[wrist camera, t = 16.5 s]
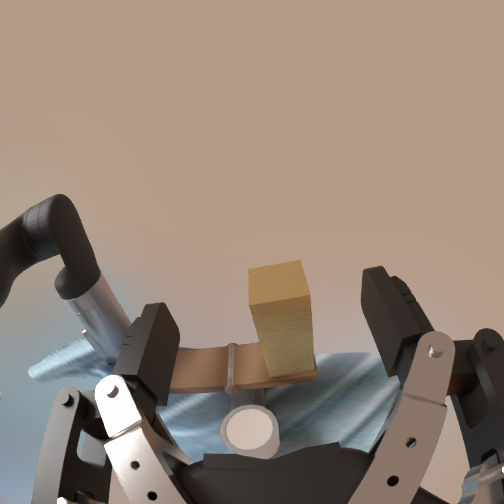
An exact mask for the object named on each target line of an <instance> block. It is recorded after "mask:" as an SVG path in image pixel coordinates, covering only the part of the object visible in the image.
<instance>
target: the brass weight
mask: <svg viewBox="0 0 504 504" xmlns="http://www.w3.org/2000/svg"><path fill="white" fill-rule="evenodd" d="M249 306H250V310H251V313H252V316H253V321H254V324H255V328H256V331H257V335H258V338H259V341H260V345H261V348H262V352H263V355H264V359H265V362H266V366H267V369H268V372H269V376H270V379H272V378H279V377H286V376H292V375H298V374H304V373H310V372H314V350H313V329H312V313H311V299H310V292H309V289H308V285H307V282H306V278H305V275H304V271H303V268H302V265H301V261H300V260H299V261H293V262H288V263H282V264H276V265H270V266H264V267H259V268H253V269H249Z"/></svg>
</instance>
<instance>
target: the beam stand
mask: <svg viewBox="0 0 504 504" xmlns="http://www.w3.org/2000/svg"><path fill="white" fill-rule="evenodd" d="M227 394H228V393H227ZM228 395H229V397H230V412H231V411H232V410H234V409H236V408H238V407H240V406H244V405H251V404H253V405H258V406H263V407H265V394H264V388H260V389H250V390H240V391H239V392H238V393H236V394H228Z"/></svg>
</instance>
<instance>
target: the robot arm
mask: <svg viewBox="0 0 504 504" xmlns="http://www.w3.org/2000/svg"><path fill="white" fill-rule="evenodd" d="M59 254H60V255H61V257H62V259H63V262H64V264H65V267H64V268H63V269H62V270H61V271H60V272H59V274H58V275H57V277H56V279H55V288H56V290H57V292H58V293H59V295H60V296H61V298H62V299H63V301H64V302H65V304H66V305H67V307H68V308H69V310H70V311H71V313H72V314H73V315H74V317H75V318H76V320H77V321H78V322H79V324H80V325H81V327H82V333H83V335H84V337H85V338H86V339H87V341H88V342H89V343H90V344H91V346H92V347H93V348H94V349H95V350H96V352H97V353H98V354H99V355H100V356H101V357H102V359H103V360H104V361H105V362H106V363H107V364H110V363H116V365H115V367H114V370H113V373H112V375H110V376H107V377H105V378H104V379H102V380H101V382H100V383H99V384H98V386H97V388H96V390H92V391H87V392H84V393H81V392H80V391H78V390H77V389H76V388H75V387H73V386H68V387H65V388H63V389H62V390H61V391H60V392H59V393H58V395H57V397H56V400H55V402H54V405H53V408H52V412H51V415H50V418H49V421H48V425H47V428H46V432H45V436H44V439H43V443H42V447H41V451H40V456H39V460H38V466H37V470H36V476H35V481H34V487H33V494H32V502H31V504H108V501H109V489H110V481H111V472H112V466H113V468H114V470H115V472H116V474H117V477H118V479H119V481H120V483H121V485H122V487H123V489H124V491H125V493H126V495H127V497H128V499H129V500H130V502H131V504H449V503H447V502H446V501H444V500H442V499H440V498H438V497H437V496H435V495H433V494H432V493H430V492H428V491H427V490H425V489H423V488H421V487H420V486H419V485H420V483H421V481H422V479H423V477H424V475H425V472H426V470H427V468H428V466H429V463H430V460H431V458H432V455H433V453H434V450H435V448H436V445H437V442H438V439H439V436H440V434H441V430H442V427H443V424H444V421H445V417H446V413H447V406H446V405H445V398H446V396H448V395H450V397H451V400H452V403H453V406H454V409H455V412H456V415H457V419H458V422H459V425H460V429H461V432H462V436H463V440H464V443H465V448H466V452H467V456H468V461H469V465H470V470H469V472H468V473H467V475H466V476H465V478H464V481H463V484H462V491H463V492H462V496H461V499H460V502H459V503H458V504H504V340H503V339H502V337H501V336H500V335H499V333H497V332H496V331H494V330H492V329H488V328H485V329H481V330H479V331H478V332H477V333H476V335H475V337H474V339H473V340H460V341H452V339H451V338H450V337H449V336H448V335H446V334H444V333H442V332H438V331H435V330H434V329H433V327H432V326H431V323H430V322H429V320H428V318H427V317H426V315H425V313H424V312H423V310H422V308H421V307H420V305H419V303H418V302H416V299H415V297H414V296H413V294H411V291H410V289H409V288H408V286H407V285H406V283H405V282H404V281H402V280H401V279H399V278H398V277H397V276H392V277H389V275H388V274H387V272H386V270H385V269H384V267H382V266H378V267H372V268H367V269H364V270H363V276H362V290H361V306H362V310H363V313H364V316H365V318H366V320H367V323H368V325H369V328H370V330H371V333H372V335H373V338H374V340H375V343H376V345H377V348H378V350H379V353H380V356H381V359H382V361H383V364H384V367H385V369H386V372H387V375H388V377H391V376H395V375H398V378H399V381H400V386H399V388H398V391H397V394H396V396H395V399H394V401H393V403H392V406H391V408H390V411H389V413H388V415H387V417H386V420H385V422H384V424H383V426H382V428H381V430H380V432H379V433H378V435H377V437H376V439H375V441H374V443H373V445H372V447H371V449H370V450H369V452H368V453H367V452H364V451H362V450H357V449H353V448H340V445H339V442H335V443H330V444H325V445H319V446H313V447H307V448H303V449H301V450H298V451H295V452H292V453H290V454H287V455H284V456H281V457H278V458H275V459H270V460H268V459H261V458H255V457H249V456H244V455H239V454H204V458H203V460H201V461H198V462H195V463H193V462H192V461H191V460H190V459H189V457H188V456H187V455H186V454H185V453H184V452H183V451H182V450H181V449H180V448H179V446H178V445H177V443H176V442H175V440H174V439H173V437H172V436H171V434H170V432H169V431H168V429H167V427H166V426H165V424H164V422H163V421H162V419H161V417H160V415H159V414H158V413H157V412H156V411H155V410H156V406H167V401H168V395H169V390H170V385H171V380H172V375H173V370H174V365H175V361H176V356H177V351H178V347H179V342H180V333H179V329H178V327H177V325H176V323H175V321H174V319H173V317H172V316H171V314H170V312H169V310H168V308H167V306H166V304H165V303H163V302H161V303H153V304H147V305H145V307H144V309H143V312H142V314H141V317H137V318H136V320H135V321H134V322H133V323H131V321H130V320H129V318H128V316H127V315H126V313H125V312H124V310H123V309H122V307H121V305H120V304H119V302H118V301H117V299H116V297H115V295H114V294H113V292H112V290H111V289H110V287H109V285H108V283H107V282H106V280H105V278H104V276H103V274H102V273H101V271H100V269H99V267H98V265H97V262H96V258H95V255H94V252H93V249H92V247H91V244H90V242H89V240H88V238H87V235H86V233H85V230H84V228H83V225H82V223H81V220H80V217H79V215H78V212H77V210H76V208H75V206H74V204H73V203H72V201H71V200H70V199H69V198H68V197H66V196H65V195H63V194H57V195H54V196H52V197H50V198H48V199H46V200H44V201H42V202H40V203H38V204H37V205H35V206H33V207H31V208H29V209H28V210H27V211H25V212H24V213H23V214H21V215H20V216H19V217H18V218H16V219H15V220H14V221H12V222H11V223H9V224H8V225H7V226H5V227H4V228H2V229H1V230H0V308H1V307H2V305H3V304H4V303H5V301H6V299H7V297H8V295H9V292H10V289H11V286H12V284H13V281H14V280H15V278H16V277H17V276H18V275H19V274H21V273H22V272H23V271H24V270H26V269H28V268H29V267H30V266H32V265H34V264H36V263H38V262H40V261H43V260H46V259H48V258H51V257H53V256H56V255H59ZM81 430H83V431H84V432H86V435H85V440H84V445H83V450H82V455H81V459H80V458H79V457H78V455H77V446H78V441H79V437H80V432H81Z"/></svg>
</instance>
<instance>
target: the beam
mask: <svg viewBox="0 0 504 504" xmlns="http://www.w3.org/2000/svg"><path fill="white" fill-rule="evenodd" d="M313 380H318V371H317V366H316V362H315V357H314V372H310V373H304V374H298V375H292V376H286V377H279V378H272V379H270V376H269V372H268V369H267V366H266V362H265V359H264V355H263V352H262V348H261V345H260V342H258V343H251V344H243V345H237V344H235V343H231V344H228V346H226V347H216V348H206V349H194V350H181V351H177V356H176V361H175V365H174V370H173V375H172V380H171V385H170V390H169V393H211V392H226V393H228V394H236V393H238V392H239V391H240V390H250V389H260V388H268V387H276V386H283V385H289V384H296V383H302V382H307V381H313Z"/></svg>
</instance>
